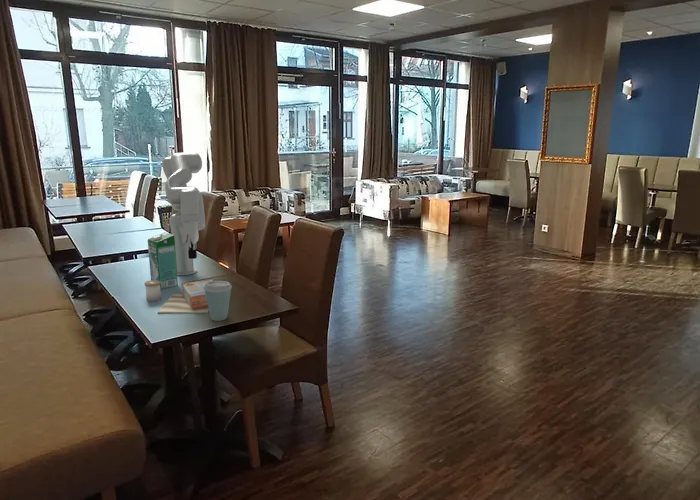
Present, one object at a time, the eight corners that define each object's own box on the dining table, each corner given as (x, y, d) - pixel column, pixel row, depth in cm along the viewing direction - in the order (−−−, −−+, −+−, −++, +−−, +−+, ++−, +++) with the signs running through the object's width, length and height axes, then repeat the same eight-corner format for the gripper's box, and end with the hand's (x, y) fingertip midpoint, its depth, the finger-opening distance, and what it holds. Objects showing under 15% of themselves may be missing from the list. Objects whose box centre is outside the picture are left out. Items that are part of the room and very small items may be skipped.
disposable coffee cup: (215, 312, 203) (213, 277, 200) (238, 315, 200) (236, 280, 197) (200, 321, 194) (198, 284, 190) (224, 324, 191) (222, 287, 187)
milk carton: (151, 285, 237) (146, 234, 231) (168, 281, 243) (165, 231, 237) (160, 289, 231) (156, 237, 225) (178, 285, 237) (174, 234, 231)
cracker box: (182, 295, 222) (191, 309, 204) (181, 282, 221) (190, 295, 203) (213, 290, 228) (225, 304, 211) (212, 278, 227) (224, 290, 209)
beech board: (173, 295, 223) (173, 293, 223) (217, 294, 225) (217, 293, 224) (157, 313, 201) (157, 312, 201) (207, 312, 202) (207, 311, 202)
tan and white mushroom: (148, 296, 221) (147, 280, 219) (163, 296, 221) (162, 280, 219) (143, 301, 214) (142, 284, 212) (159, 301, 215) (157, 284, 213)
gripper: (185, 214, 222) (188, 254, 226) (177, 220, 207) (179, 262, 211) (202, 214, 222) (204, 254, 226) (195, 220, 208) (197, 262, 212)
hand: (192, 258), depth 219 cm, fingers closed
